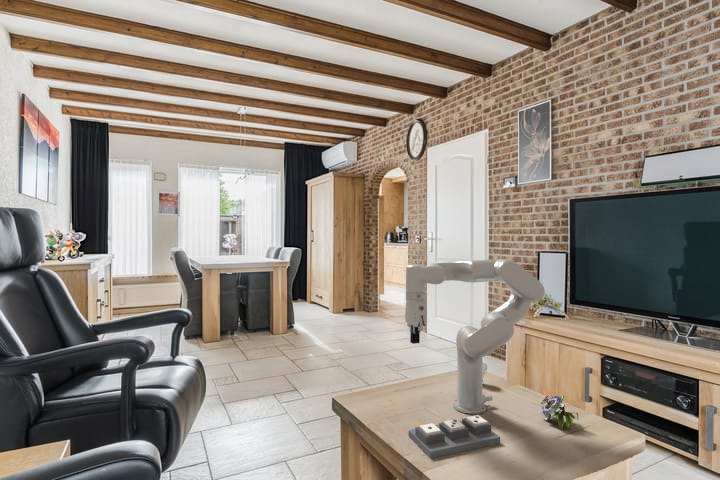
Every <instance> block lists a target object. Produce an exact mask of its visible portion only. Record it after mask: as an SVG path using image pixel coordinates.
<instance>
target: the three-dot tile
mask: <svg viewBox="0 0 720 480" xmlns="http://www.w3.org/2000/svg"><path fill="white" fill-rule="evenodd" d="M459 421H460V420H458V419H457V418H455V419H449V420H445V421H442V422H443V425H444V426H445V427H447V428H448V429H449V430H450V431H456V430H461V429H465V426H464V425H463V424H462V423H460V422H459Z"/></svg>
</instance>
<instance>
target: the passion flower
mask: <svg viewBox="0 0 720 480" xmlns="http://www.w3.org/2000/svg"><path fill="white" fill-rule="evenodd" d="M564 397H565V395H564V394H561V396H560V395H555V396H551V397H550V396H549V395H546V396H545V397H544V398H543V399H541V403H540V404H541V405H542V408H541V409H542V414H543V415H544V418H543V420H544V421H546V422H547V421H549V420H550V419H551V418H552V417H555V418H556V420H557V423H558V428H559V429H560V430H561V431H563V430H564V425H565V424H566V425H565V426H566V429H569V428H570V427H571V426H572V425H573V422H574V421H573V419H574V420H579V412H575V414H574V413H573V412H570V411H566V409H565V406H566V404H565V402H563V401H564V399H565V398H564ZM575 415H576V416H575Z"/></svg>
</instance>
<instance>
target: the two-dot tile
mask: <svg viewBox="0 0 720 480" xmlns="http://www.w3.org/2000/svg"><path fill="white" fill-rule="evenodd" d="M465 418H466V421H468V422H469V423H470V424H472V425H473V426H474V427H476V426H482V425H487V424H488V423H489V421H488V420H486V419H485V418H483V417H481V415H479V414H475V415H472V416H466V417H465Z"/></svg>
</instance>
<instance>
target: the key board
mask: <svg viewBox="0 0 720 480" xmlns="http://www.w3.org/2000/svg"><path fill="white" fill-rule="evenodd" d="M458 421H459V422H460V423H462V424H463V425H464V426H465V429H461V430H456V431H450V430H449V429H448V428H447V427H445V426H444V425H443V421H442V422H439V423H438V424H436V425H435V424H434V425H435V426H436V427H438V428H439V429H440V430H441V433H440V434H435V435H430V436H426V435H425V434H424V433H423V432H422V431H421V430H420V429H419V426H415V428H413V429H409V430H408V437H409V438H410V440H412V441H413V443H414V444H415V445H416V446H417V447H418V448H420V450H421V451H422V452H423V453H424V454H426V456H427V457H428V458H429V459H432V458H438V457H442V456H446V455H451V454H456V453H460V452H464V451H465V452H466V451H469V450H471V451H472V450H475V449H479V448H483V447H489V446H493V445H497V444H500V443H501V436H500V435H498V434H496V433H495V432H494V431H492V424H491V423H490V422H488V424H487V425H482V426H476V427H474V426H473V425H472V424H470V423H469V422H468V421H466V417H465V418H462V419H461V420H458Z"/></svg>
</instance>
